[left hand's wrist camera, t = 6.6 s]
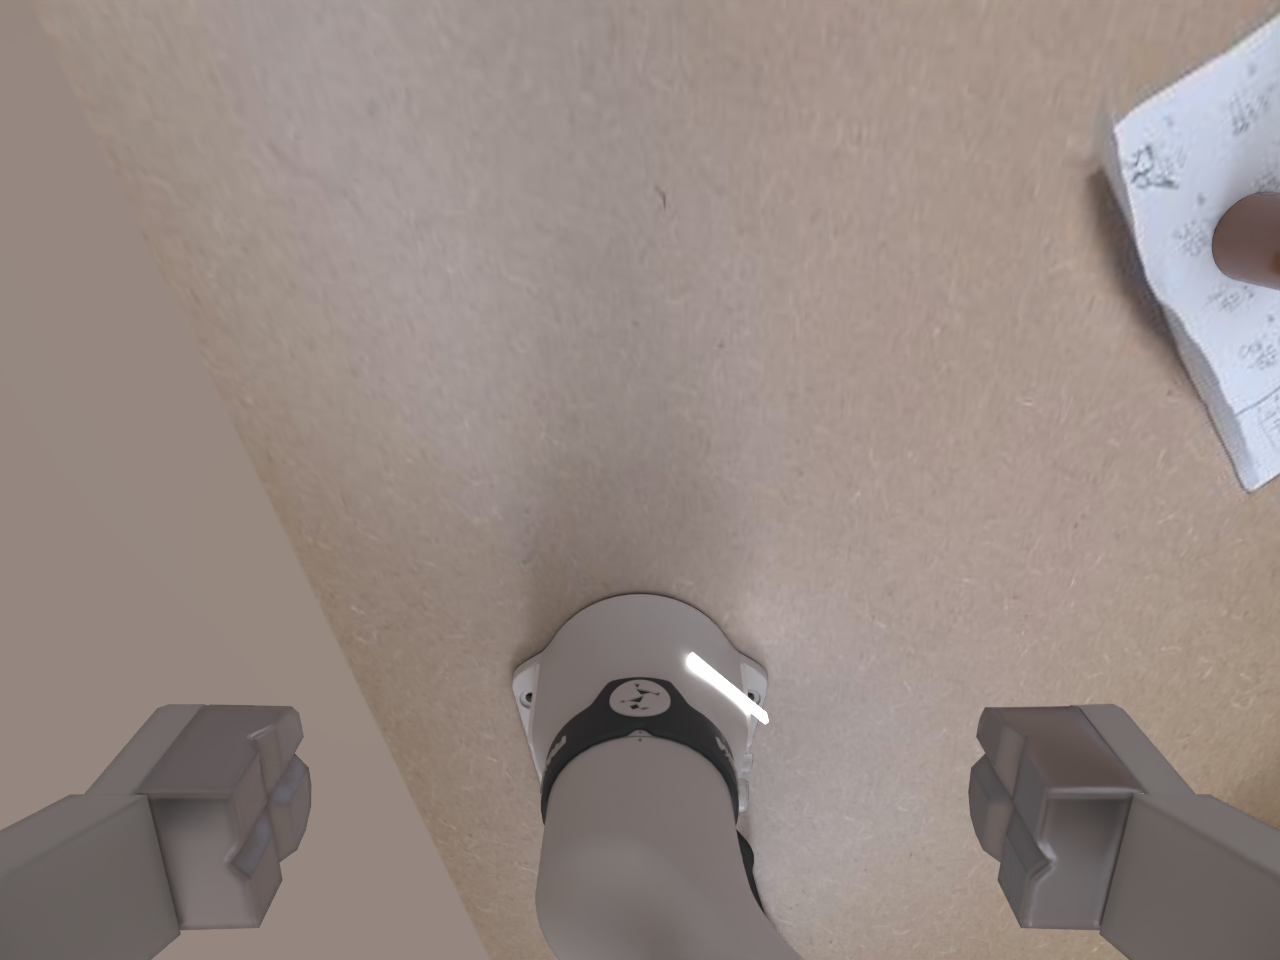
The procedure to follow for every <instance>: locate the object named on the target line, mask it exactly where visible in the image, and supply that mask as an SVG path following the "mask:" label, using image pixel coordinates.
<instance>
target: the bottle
mask: <svg viewBox="0 0 1280 960" xmlns="http://www.w3.org/2000/svg"><path fill="white" fill-rule="evenodd" d="M1212 251H1213V257H1214V260H1215V262H1216V264H1217V266H1218V268H1219V269H1220V270H1221V271H1222V272H1223V273H1224V274H1225V275H1226V276H1228V277H1230V278H1232V279H1235V280H1238V281H1242V282H1246V283H1250V284H1254V285H1258V286H1262V287H1266V288H1271V289H1275V290H1279V291H1280V193H1277V192H1261V193H1256V194H1253V195H1250V196H1248V197H1246V198H1244V199H1242V200H1240V201H1239V202H1237V203H1236V204H1235V205H1233V206H1232V207H1231V208H1230V209H1229V210H1228V211H1227V212H1226V213H1225V215H1224V216H1223V217H1222V219H1221V220H1220V222H1219V224H1218V226H1217V228H1216V231H1215V233H1214V237H1213V244H1212Z"/></svg>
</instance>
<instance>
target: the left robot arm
mask: <svg viewBox="0 0 1280 960" xmlns="http://www.w3.org/2000/svg"><path fill="white" fill-rule="evenodd" d="M512 689H513V693H514V696H515V699H516V703H517V706H518V710H519V713H520V717H521V720H522V723H523V727H524V730H525V734H526V737H527V740H528V745H529V747H530V751H531V754H532V758H533V761H534V764H535V768H536V771H537V775H538V778H539V781H540V785H541V792H540V794H542V796H541V813H542V819H543V823H544V826H545V827H544V834H543V841H542V849H541V856H540V863H539V871H538V878H537V886H536V893H535V903H536V911H537V917H538V921H539V924H540V927H541V930H542V933H543V935H544V937H545V939H546V941H547V943H548V945H549V946H550V948H551V950H552V951H553V953H554V955H555V956H556V958H557V959H558V960H804V959H803V958H802V957H801V956H800V955H799V954H798V953H797V952H796V951H795V950H794V949H793V948H792V947H791V946H790V945H789V944H788V943H787V942H786V940H785V939H784V938H783V937H782V936H781V935H780V934H779V933H778V932H777V930H776V929H775V928H774V927H773V925H772V924H771V923H770V921H769V920H768V919H767V917H766V915H765V913H764V910H763V908H762V905H761V902H760V899H759V895H758V892H757V889H756V885H755V881H754V877H753V873H752V870H753V864H754V855H753V851H752V849H751V847H750V845H749V844H748V842H747V841H746V840H745V838H744V837H743V836H742V835H741V834H740V833H739V832H738V831H737V829H736V823H737V819H738V813H739V812H740V813H742V812H745V811H746V808H747V804H748V797H749V785H748V781H746V780H745V779H741V778H742V775H743V772H744V773H750V772H751V769H752V763H753V756H752V753H750V752H749V751H750V747H751V745H752V741H753V737H754V734H755V730H756V727H757V724H758V720H761V721H762V722H763V723H764V724H766V723H767V722H768V717H767V713H766V712H765V711H764V710H762V706H763V703H764V700H765V696H766V693H767V689H768V675H767V673H766V671H765V669H764V668H763V667H761V666H760V665H759V664H757V663H756V662H755V661H753V660H751V659H750V658H748V657H746V656H744V655H743V654H741V653H739V652H738V651H737V650H736V649H735V648H734V647H733V646H732V645H731V644H730V642H729V641H728V639H727V638H726V637H725V635H724V634H723V632H722V631H721V630H720V629H719V628H718V626H717V625H716V624H715V623H714V622H713V621H712V620H710V619H709V618H708V617H707V616H706V615H704V614H703V613H702V612H700V611H698V610H697V609H695V608H693V607H691V606H690V605H687V604H685V603H683V602H680V601H678V600H675V599H672V598H668V597H664V596H658V595H650V594H630V595H622V596H616V597H612V598H608V599H605V600H602V601H600V602H597V603H595V604H593V605H590V606H589V607H587V608H585V609H583V610H582V611H580V612H579V613H577V614H576V615H574V616H573V617H572V618H571V619H570V620H568V621H567V622H566V623H565V624H564V625H563V626H562V628H561V629H560V630H559V631H558V632H557V634H556V635H555V637H554V638H553V639H552V641H551V642H550V644H549V645H548V646H547V647H546V648H545V649H544V650H543V651H542V652H541V653H539V654H538V655H536V656H534V657H532V658H531V659H529V660H527V661H526V662H524V663H522V664H521V665H520V666H519V667H517V668H516V670H515V671H514V673H513V675H512ZM528 693H532V697H531V696H529V695H528ZM748 693H752V695H751V696H749V697H748ZM976 737H977V739H978V740H979V742H980V744H981V746H982V748H983V750H984V751H985V754H984V755H983V756H982V757H981V758H980V759H979V760H978V761H977V762H976V764H975V765H974V766H973V767H972V768H971V774H970V782H969V790H968V793H969V805H970V816H971V819H972V823H973V826H974V830H975V833H976V835H977V838H978V840H979V842H980V844H981V846H982V849H983V850H984V851H985V852H987V853H988V854H989V855H991V856H992V857H994V858H995V859H996V860H998V861H999V862H1001V864H1000V869H999V875H998V882H999V884H1000V886H1001V888H1002V890H1003V892H1004V894H1005V896H1006V898H1007V900H1008V902H1009V904H1010V906H1011V909H1012V911H1013V913H1014V915H1015V917H1016V919H1017V921H1018V923H1019V925H1020V927H1021V928H1039V929H1075V930H1100V933H1099V934H1100V935H1101V936H1102V937H1104V938H1105V939H1106V940H1107V941H1108V942H1109V943H1111V944H1112V945H1113V946H1114V947H1115V948H1116V949H1118V950H1119V951H1120V952H1121V953H1122V954H1123V955H1125V956H1126V957H1127V958H1128V959H1129V960H1280V831H1279V830H1277V829H1275V828H1273V827H1271V826H1269V825H1268V824H1266V823H1264V822H1262V821H1260V820H1258V819H1256V818H1254V817H1252V816H1250V815H1248V814H1246V813H1244V812H1242V811H1241V810H1239V809H1237V808H1235V807H1233V806H1231V805H1229V804H1227V803H1225V802H1223V801H1221V800H1219V799H1217V798H1215V797H1214V796H1212V795H1200V794H1195V793H1194V791H1193V790H1192V789H1191V788H1190V787H1189V786H1188V784H1187V783H1186V782H1185V781H1184V780H1183V779H1182V777H1181V776H1180V775H1179V774H1178V773H1177V772H1176V770H1175V769H1174V768H1173V767H1172V766H1171V765H1170V763H1169V762H1168V761H1167V760H1166V759H1165V757H1164V756H1163V755H1162V754H1161V753H1160V752H1159V750H1158V749H1157V748H1156V747H1155V746H1154V745H1153V743H1152V742H1151V741H1150V740H1149V739H1148V738H1147V736H1146V735H1145V734H1144V733H1143V732H1142V731H1141V729H1140V728H1139V727H1138V726H1137V725H1136V723H1135V722H1134V721H1133V720H1132V719H1131V718H1130V716H1129V715H1128V714H1127V713H1126V712H1125V711H1124V709H1122V708H1120V707H1118V706H1116V705H1114V704H1092V705H1070V706H1051V707H985V708H984V710H983V713H982V715H981V717H980V719H979V724H978V730H977V736H976ZM302 739H303V731H302V726H301V721H300V716H299V713H298V712H297V711H296V710H295V709H294V708H293V707H292V706H254V705H208V706H207V705H204V704H181V705H180V704H169V705H166V706H163V707H160V708H157V709H156V711H155V712H154V713H153V714H152V715H151V716H150V717H149V719H148V720H147V721H146V722H145V723H144V725H143V726H142V727H141V728H140V729H139V730H138V732H137V733H136V734H135V735H134V736H133V737H132V739H131V740H130V741H129V742H128V743H127V745H126V746H125V747H124V748H123V749H122V750H121V752H120V753H119V754H118V755H117V756H116V757H115V759H114V760H113V761H112V762H111V763H110V765H109V766H108V767H107V768H106V769H105V770H104V772H103V773H102V774H101V775H100V776H99V777H98V779H97V780H96V781H95V782H94V783H93V784H92V786H91V787H90V788H89V789H88V790H87V791H86V793H85V794H81V795H68V796H67V797H65V798H63V799H61V800H59V801H57V802H55V803H53V804H51V805H49V806H47V807H45V808H43V809H41V810H39V811H38V812H36V813H34V814H32V815H30V816H28V817H26V818H24V819H22V820H20V821H18V822H16V823H14V824H12V825H10V826H8V827H7V828H5V829H3V830H1V831H0V960H151V959H152V958H154V957H155V956H156V955H157V954H158V953H159V952H161V951H162V950H163V949H164V948H165V947H166V946H168V945H169V944H170V943H171V942H172V941H173V940H175V939H176V938H177V937H178V936H179V935H180V930H203V929H239V928H259V927H260V925H261V923H262V921H263V919H264V917H265V915H266V913H267V911H268V909H269V907H270V905H271V902H272V900H273V898H274V896H275V894H276V892H277V890H278V888H279V886H280V884H281V882H282V875H281V869H280V864H279V862H281V861H282V860H284V859H285V858H286V857H288V856H289V855H291V854H292V853H293V852H295V851H296V850H297V849H298V846H299V844H300V842H301V840H302V837H303V835H304V833H305V831H306V827H307V822H308V817H309V812H310V808H311V780H310V773H309V768H308V767H307V766H306V765H305V764H304V763H303V761H302V760H301V759H300V758H298V756H297V755H296V754H295V751H296V750H297V748H298V746H299V744H300V742H301V740H302ZM741 854H742V856H741ZM742 857H743V860H742Z"/></svg>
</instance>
